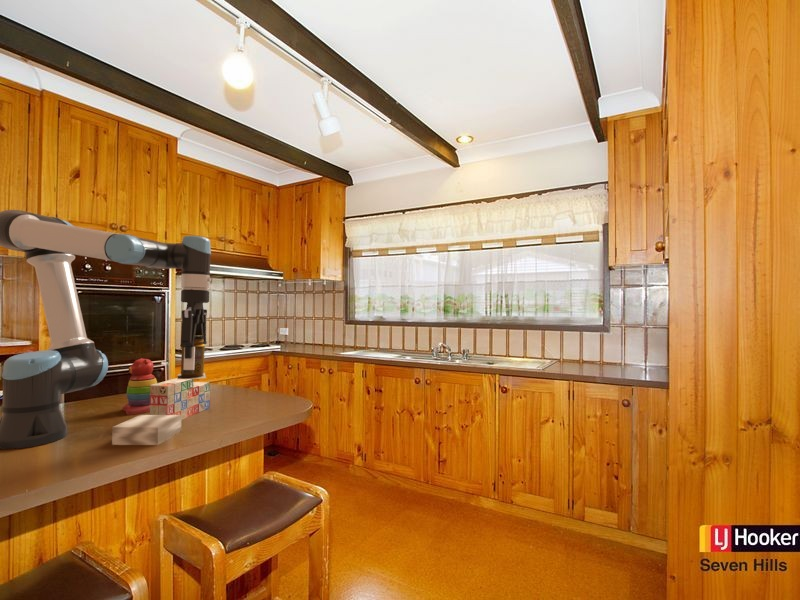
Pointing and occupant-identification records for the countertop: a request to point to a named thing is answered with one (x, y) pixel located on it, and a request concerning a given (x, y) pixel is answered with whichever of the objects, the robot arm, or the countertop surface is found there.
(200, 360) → the condiment
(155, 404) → the stack of blocks
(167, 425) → the birch block
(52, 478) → the countertop surface
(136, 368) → the stacking bear
